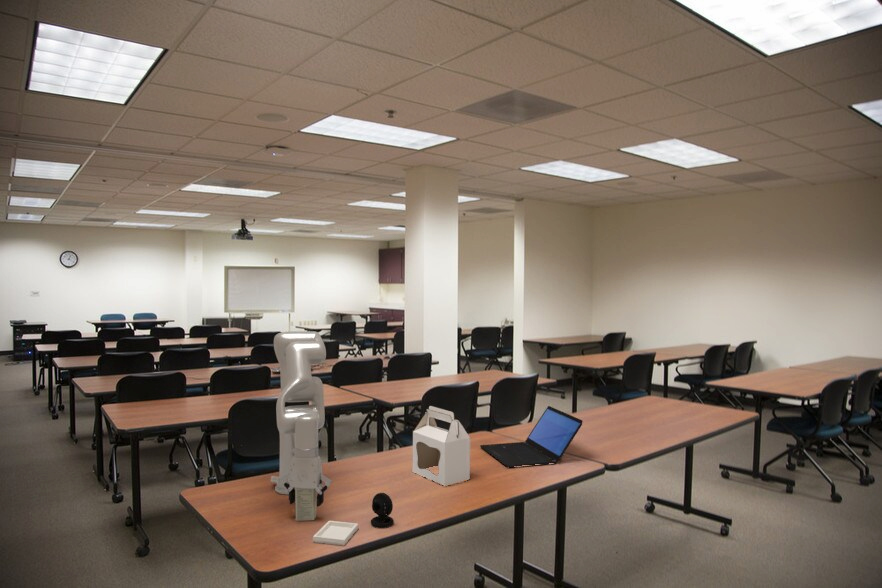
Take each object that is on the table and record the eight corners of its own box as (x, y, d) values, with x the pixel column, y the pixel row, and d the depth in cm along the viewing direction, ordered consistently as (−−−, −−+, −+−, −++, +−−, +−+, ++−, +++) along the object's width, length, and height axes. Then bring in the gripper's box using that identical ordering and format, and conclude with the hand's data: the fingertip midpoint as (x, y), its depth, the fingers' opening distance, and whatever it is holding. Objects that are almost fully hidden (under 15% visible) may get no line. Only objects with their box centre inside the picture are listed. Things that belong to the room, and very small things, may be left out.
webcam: (365, 524, 181) (365, 493, 181) (380, 517, 187) (380, 487, 187) (384, 530, 176) (384, 499, 176) (398, 522, 183) (399, 492, 183)
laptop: (479, 448, 272) (480, 409, 272) (548, 443, 283) (549, 405, 283) (507, 469, 240) (507, 425, 240) (583, 463, 251) (584, 420, 251)
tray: (312, 542, 167) (313, 536, 167) (328, 526, 179) (329, 520, 179) (344, 546, 165) (344, 540, 165) (358, 529, 177) (358, 523, 177)
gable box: (411, 472, 233) (412, 406, 233) (436, 466, 242) (437, 402, 242) (444, 487, 216) (445, 415, 216) (470, 480, 224) (471, 411, 224)
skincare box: (316, 515, 187) (317, 479, 187) (314, 521, 183) (314, 483, 183) (297, 515, 187) (297, 479, 187) (294, 521, 183) (294, 483, 183)
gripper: (277, 453, 183) (276, 506, 183) (326, 456, 179) (325, 510, 179) (288, 447, 190) (287, 498, 190) (335, 450, 187) (335, 502, 186)
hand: (306, 504), depth 185 cm, fingers open, 9 cm apart
